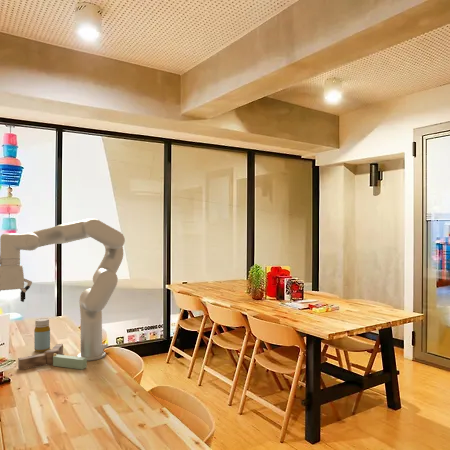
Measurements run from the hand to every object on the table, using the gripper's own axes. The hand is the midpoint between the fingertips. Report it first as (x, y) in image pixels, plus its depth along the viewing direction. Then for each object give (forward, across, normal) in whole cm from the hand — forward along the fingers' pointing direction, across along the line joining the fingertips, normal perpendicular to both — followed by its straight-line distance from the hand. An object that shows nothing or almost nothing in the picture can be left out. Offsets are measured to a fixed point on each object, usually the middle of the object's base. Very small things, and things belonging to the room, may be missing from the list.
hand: (10, 302), depth 176 cm
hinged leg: (+28, +21, -13) cm, 37 cm away
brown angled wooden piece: (+28, +15, 0) cm, 32 cm away
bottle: (+28, +18, +19) cm, 39 cm away
